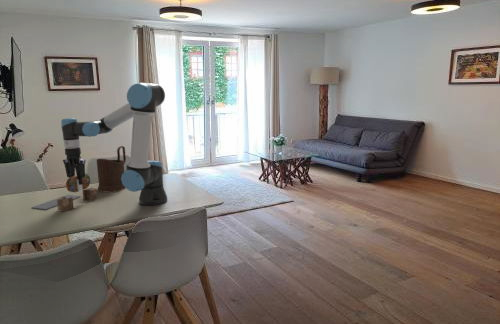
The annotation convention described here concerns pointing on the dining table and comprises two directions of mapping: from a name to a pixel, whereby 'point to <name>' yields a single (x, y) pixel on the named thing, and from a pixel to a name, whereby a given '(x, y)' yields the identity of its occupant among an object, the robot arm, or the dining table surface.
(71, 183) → the tin
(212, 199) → the dining table surface
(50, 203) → the mat
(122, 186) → the brown tapered container
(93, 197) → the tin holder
